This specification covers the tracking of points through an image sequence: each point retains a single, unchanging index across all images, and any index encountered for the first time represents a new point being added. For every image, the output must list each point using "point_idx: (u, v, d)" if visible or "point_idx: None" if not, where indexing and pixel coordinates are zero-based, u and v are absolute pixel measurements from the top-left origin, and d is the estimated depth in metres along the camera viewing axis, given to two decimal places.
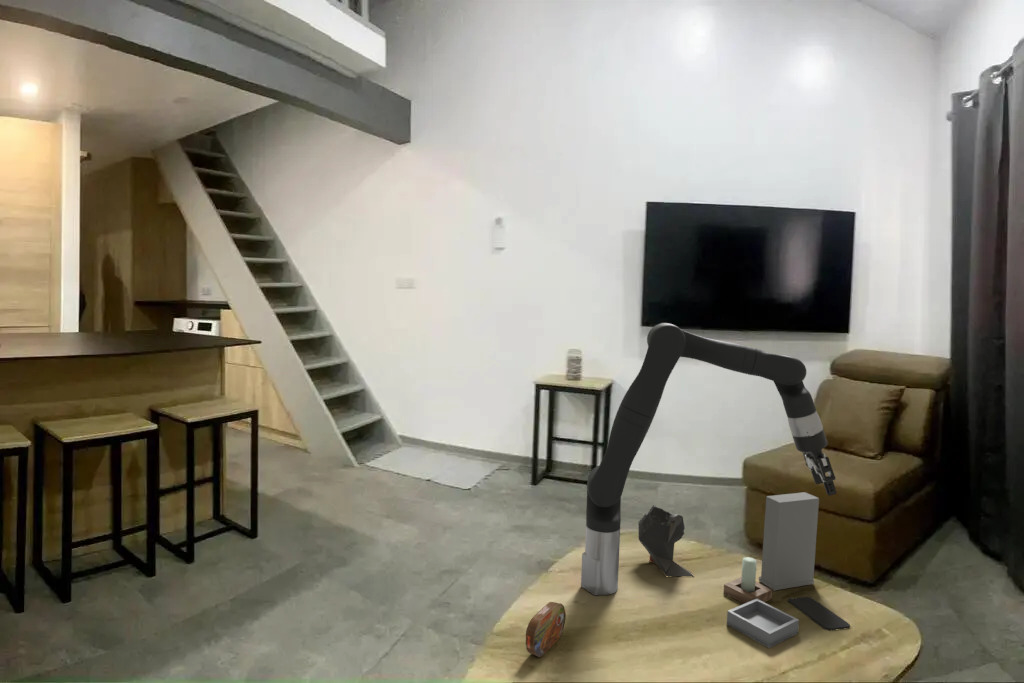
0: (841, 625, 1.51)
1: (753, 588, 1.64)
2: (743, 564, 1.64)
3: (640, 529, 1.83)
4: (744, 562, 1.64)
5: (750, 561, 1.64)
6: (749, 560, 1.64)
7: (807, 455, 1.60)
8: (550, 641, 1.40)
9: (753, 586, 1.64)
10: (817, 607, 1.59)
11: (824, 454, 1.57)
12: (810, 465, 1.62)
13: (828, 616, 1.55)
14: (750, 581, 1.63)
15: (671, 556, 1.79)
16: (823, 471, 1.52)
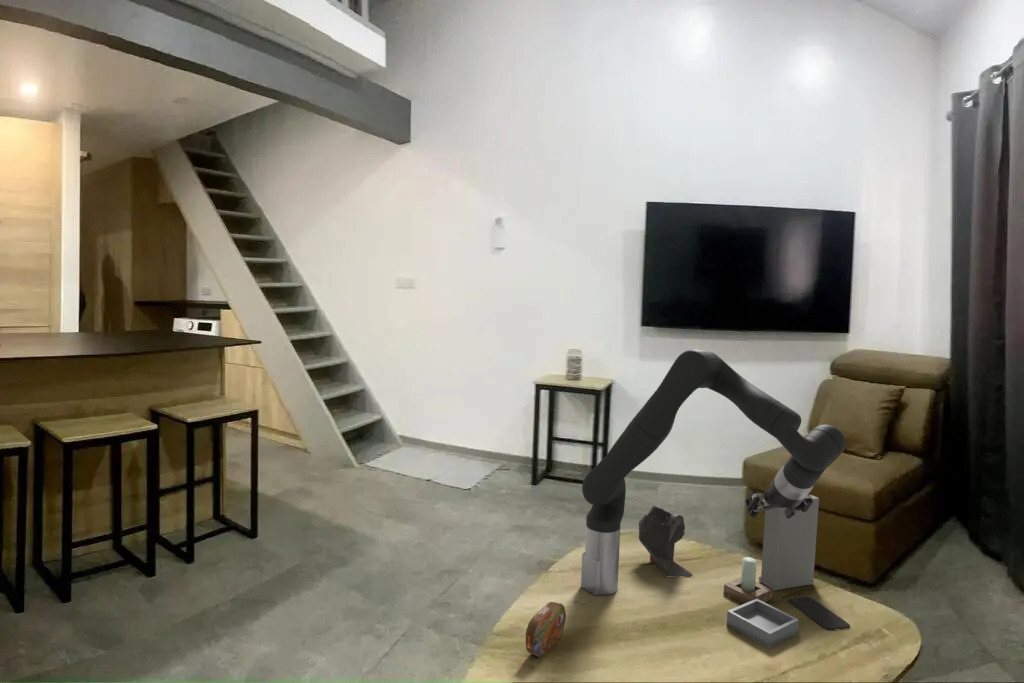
0: (841, 625, 1.51)
1: (753, 588, 1.64)
2: (743, 564, 1.64)
3: (640, 529, 1.83)
4: (744, 562, 1.64)
5: (750, 561, 1.64)
6: (749, 560, 1.64)
7: None
8: (550, 641, 1.40)
9: (753, 586, 1.64)
10: (817, 607, 1.59)
11: (777, 504, 1.44)
12: None
13: (828, 616, 1.55)
14: (750, 581, 1.63)
15: (671, 556, 1.79)
16: (748, 497, 1.48)
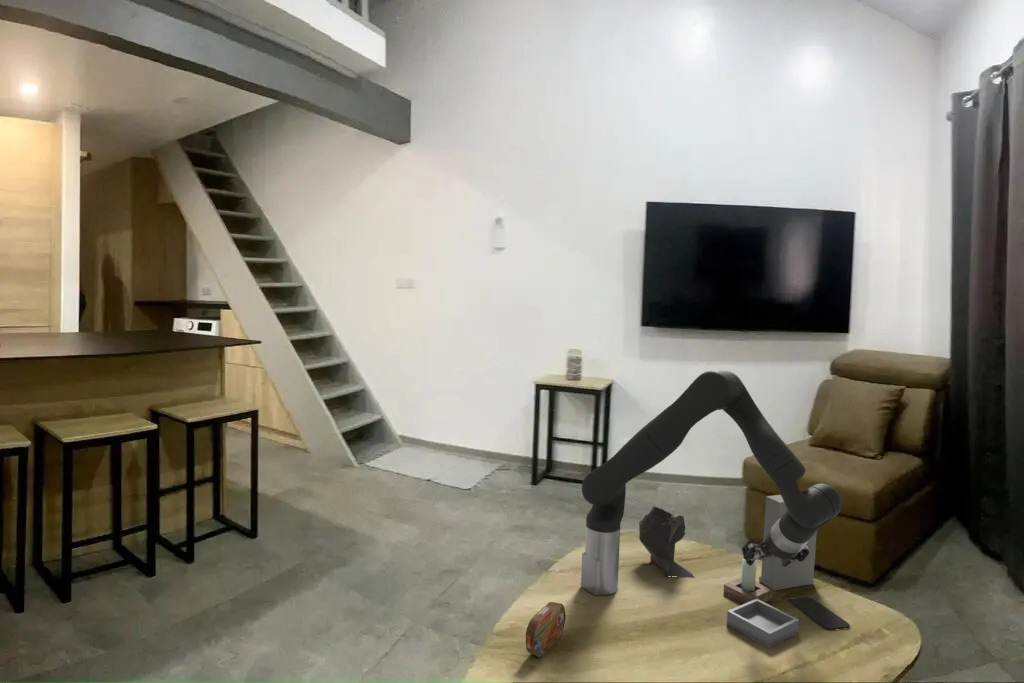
0: (841, 625, 1.51)
1: (753, 588, 1.64)
2: (743, 564, 1.64)
3: (641, 529, 1.83)
4: (744, 562, 1.64)
5: None
6: None
7: None
8: (550, 641, 1.40)
9: (753, 586, 1.64)
10: (817, 607, 1.59)
11: (773, 555, 1.45)
12: None
13: (828, 616, 1.55)
14: (750, 581, 1.63)
15: (672, 556, 1.79)
16: (745, 546, 1.48)
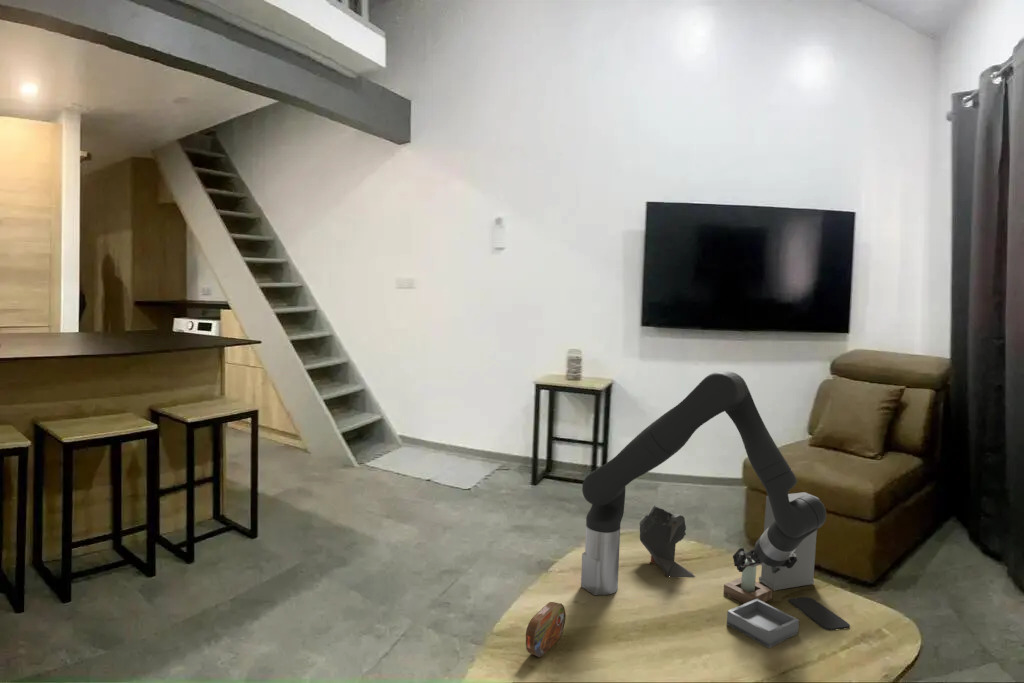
0: (841, 625, 1.51)
1: (753, 588, 1.64)
2: None
3: (641, 529, 1.83)
4: None
5: None
6: None
7: None
8: (550, 641, 1.40)
9: (753, 586, 1.64)
10: (817, 607, 1.59)
11: (762, 562, 1.51)
12: None
13: (828, 616, 1.55)
14: (750, 581, 1.63)
15: (672, 557, 1.79)
16: (736, 553, 1.55)
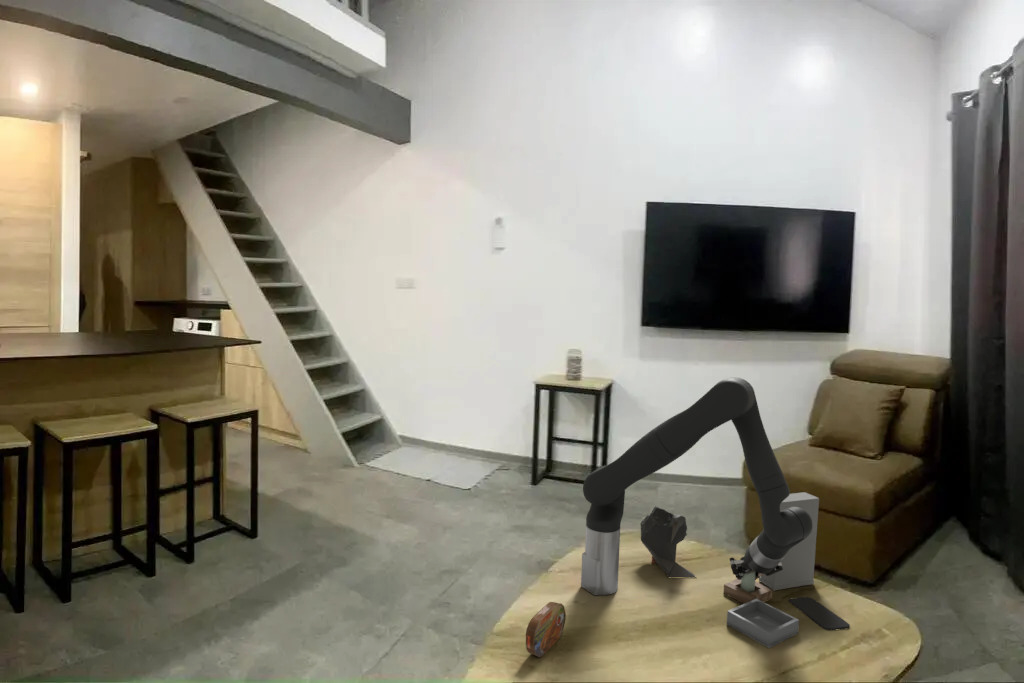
0: (841, 625, 1.51)
1: (753, 588, 1.64)
2: None
3: (642, 530, 1.83)
4: None
5: None
6: None
7: None
8: (550, 641, 1.40)
9: (753, 586, 1.64)
10: (817, 607, 1.59)
11: (751, 569, 1.58)
12: None
13: (828, 616, 1.55)
14: (750, 581, 1.63)
15: (673, 557, 1.79)
16: None
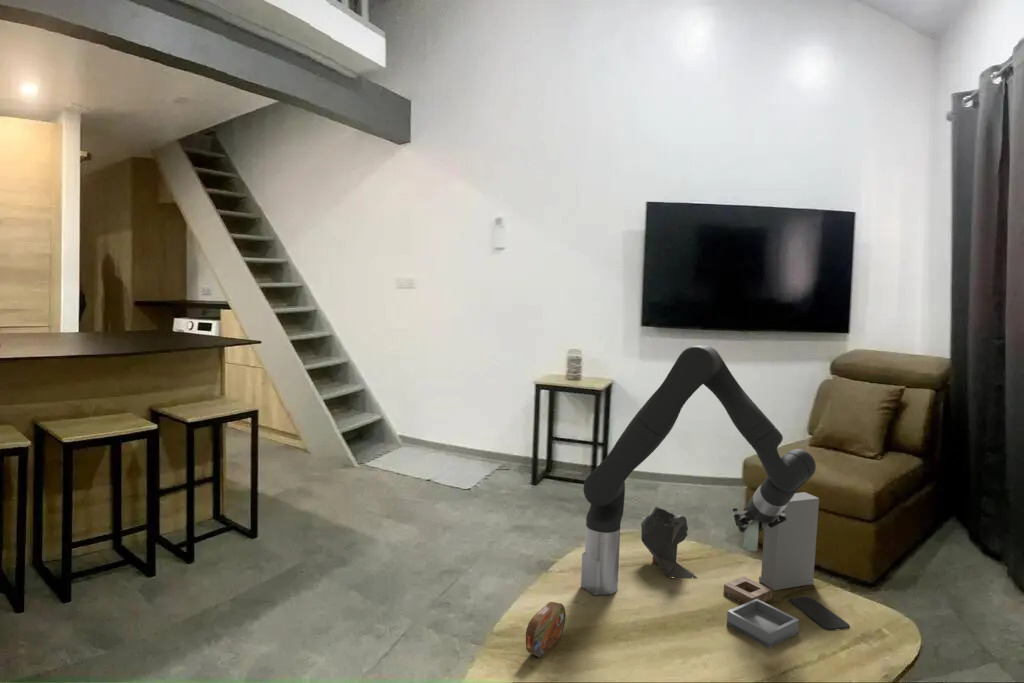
0: (841, 625, 1.51)
1: (756, 540, 1.63)
2: None
3: (643, 530, 1.82)
4: None
5: None
6: None
7: None
8: (550, 641, 1.40)
9: (756, 538, 1.62)
10: (817, 607, 1.59)
11: (754, 519, 1.57)
12: None
13: (828, 616, 1.55)
14: (753, 533, 1.62)
15: (674, 557, 1.79)
16: None
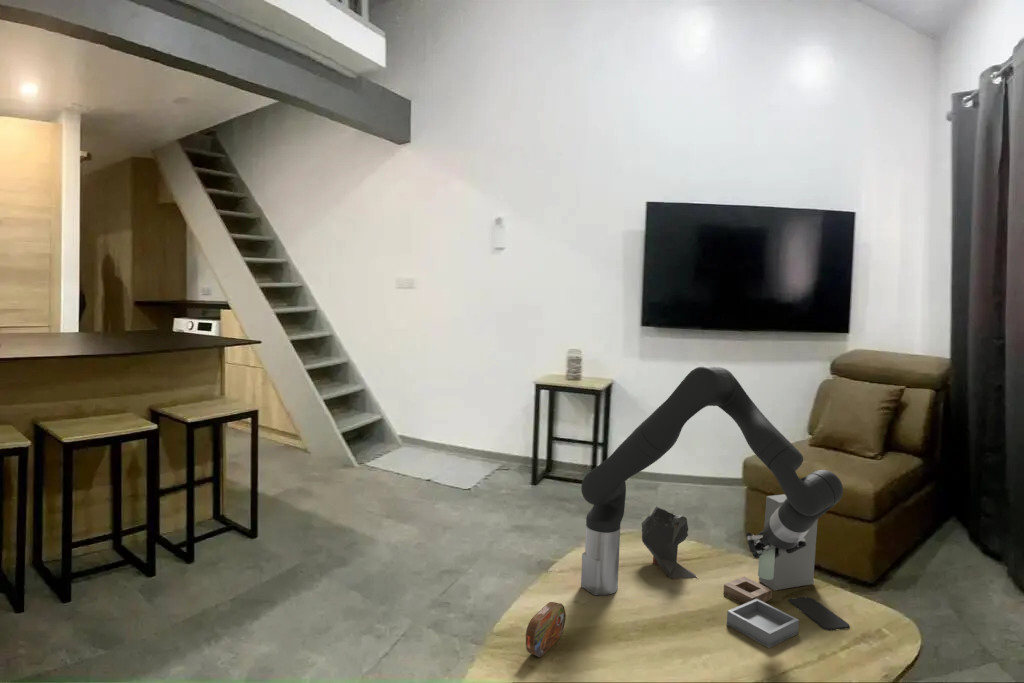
0: (841, 625, 1.51)
1: (772, 567, 1.47)
2: None
3: (643, 530, 1.82)
4: None
5: None
6: None
7: None
8: (550, 641, 1.40)
9: (772, 565, 1.46)
10: (817, 607, 1.59)
11: (771, 545, 1.41)
12: None
13: (828, 616, 1.55)
14: (769, 560, 1.46)
15: (675, 558, 1.78)
16: None
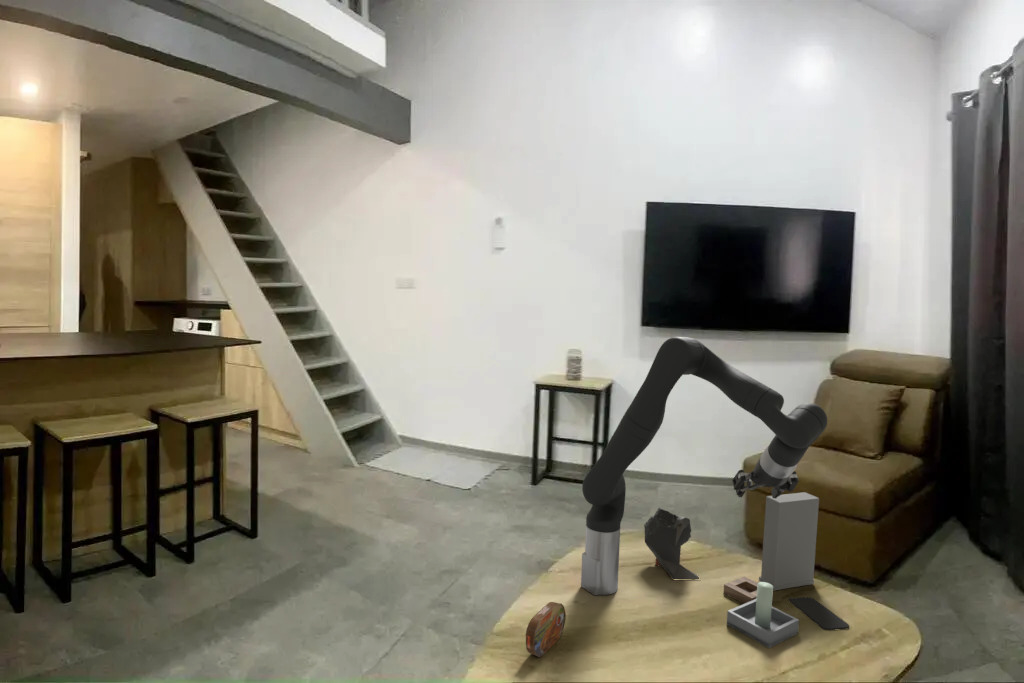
0: (840, 626, 1.51)
1: (769, 616, 1.48)
2: (758, 590, 1.48)
3: (646, 532, 1.81)
4: (759, 587, 1.48)
5: (766, 586, 1.48)
6: (765, 585, 1.48)
7: None
8: (550, 641, 1.40)
9: (769, 614, 1.48)
10: (817, 607, 1.59)
11: (762, 483, 1.47)
12: None
13: (828, 616, 1.55)
14: (766, 609, 1.47)
15: (678, 559, 1.78)
16: (735, 476, 1.50)
